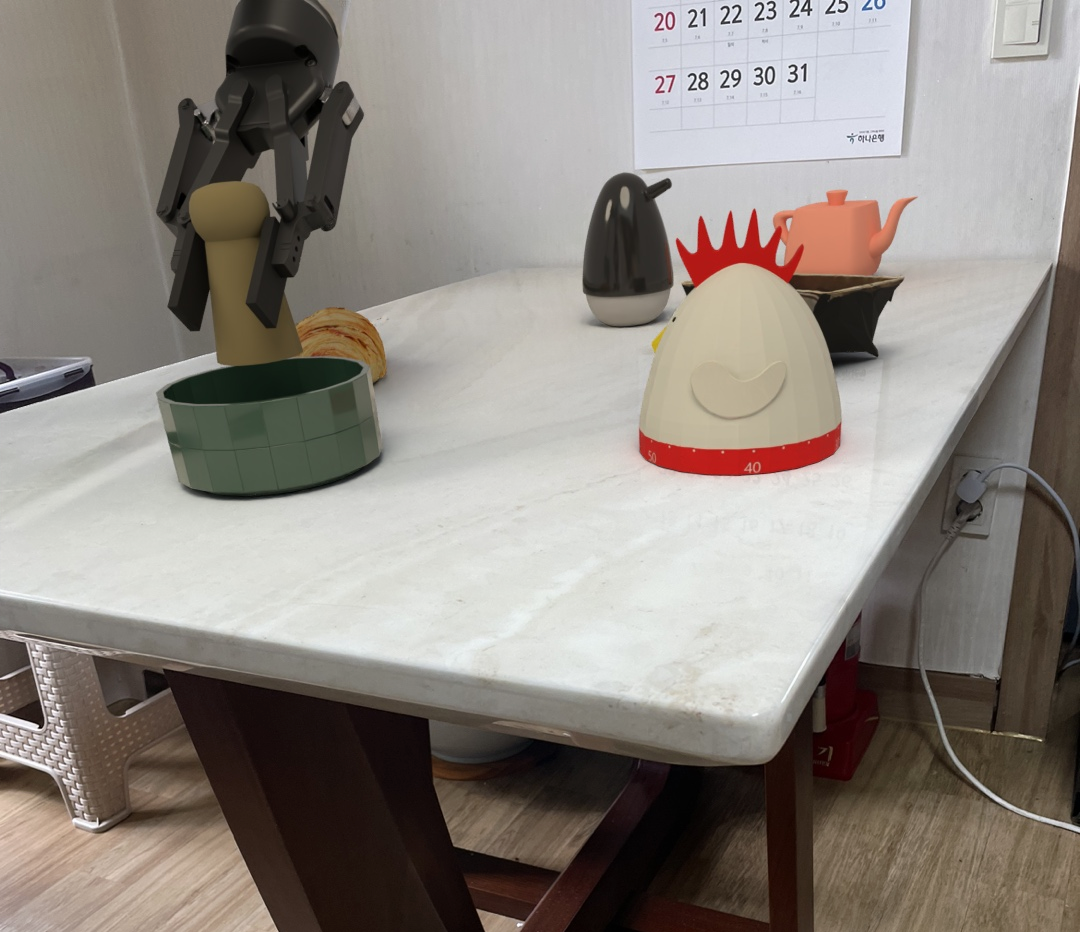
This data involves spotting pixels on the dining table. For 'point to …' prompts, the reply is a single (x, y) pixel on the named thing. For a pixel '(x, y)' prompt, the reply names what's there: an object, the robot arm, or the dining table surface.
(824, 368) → the kitchen timer
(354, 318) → the croissant
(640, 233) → the pump dispenser
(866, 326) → the baking dish
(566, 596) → the dining table surface
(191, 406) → the green tiled bowl
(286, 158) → the robot arm
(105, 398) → the dining table surface
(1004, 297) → the dining table surface
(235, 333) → the cork
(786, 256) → the teapot
